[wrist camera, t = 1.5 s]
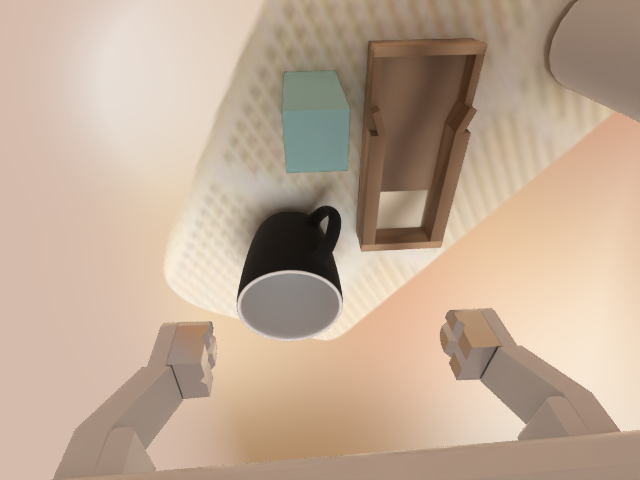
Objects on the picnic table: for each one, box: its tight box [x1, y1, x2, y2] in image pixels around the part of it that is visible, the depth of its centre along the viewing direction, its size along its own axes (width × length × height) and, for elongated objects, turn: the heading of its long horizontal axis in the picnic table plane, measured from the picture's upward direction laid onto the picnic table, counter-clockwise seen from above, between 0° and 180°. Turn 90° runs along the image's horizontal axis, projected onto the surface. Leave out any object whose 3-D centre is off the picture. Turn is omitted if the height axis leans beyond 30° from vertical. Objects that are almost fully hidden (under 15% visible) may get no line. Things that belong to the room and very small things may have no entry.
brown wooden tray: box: [356, 38, 487, 251], centre depth 31 cm, size 8×18×4 cm, turn 1°
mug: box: [237, 206, 343, 341], centre depth 33 cm, size 12×9×10 cm
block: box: [282, 71, 350, 173], centre depth 25 cm, size 4×4×9 cm
